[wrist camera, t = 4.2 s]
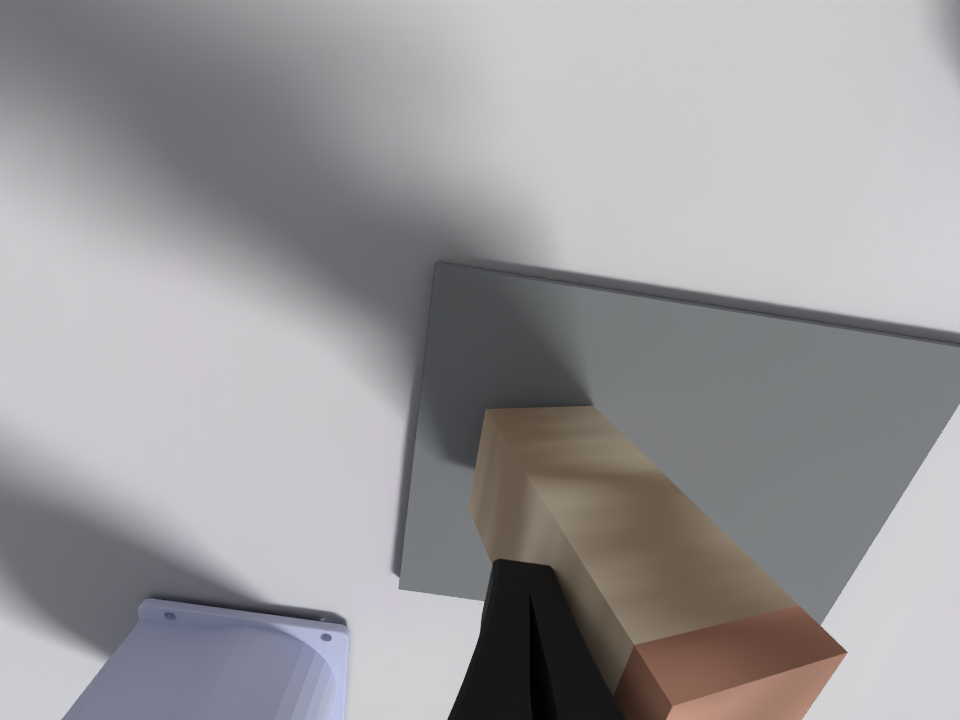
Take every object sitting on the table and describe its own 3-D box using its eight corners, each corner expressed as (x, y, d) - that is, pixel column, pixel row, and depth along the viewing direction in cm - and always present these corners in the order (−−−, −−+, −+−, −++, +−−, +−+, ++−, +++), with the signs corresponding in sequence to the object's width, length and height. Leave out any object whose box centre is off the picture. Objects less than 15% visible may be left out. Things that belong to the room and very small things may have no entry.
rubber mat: (400, 579, 20) (398, 589, 20) (436, 261, 15) (435, 264, 15) (800, 635, 21) (807, 645, 20) (977, 346, 15) (991, 352, 15)
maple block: (468, 507, 16) (607, 839, 9) (485, 409, 15) (672, 706, 7) (567, 497, 18) (763, 776, 10) (593, 405, 16) (847, 652, 9)
